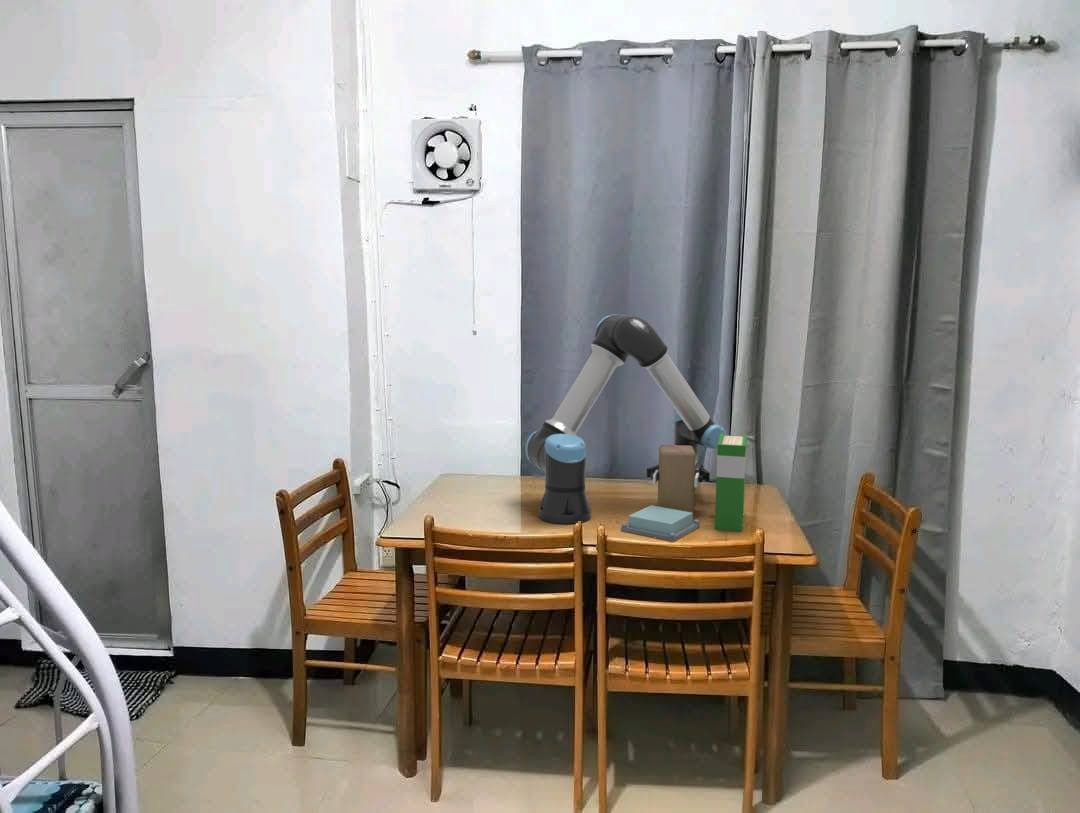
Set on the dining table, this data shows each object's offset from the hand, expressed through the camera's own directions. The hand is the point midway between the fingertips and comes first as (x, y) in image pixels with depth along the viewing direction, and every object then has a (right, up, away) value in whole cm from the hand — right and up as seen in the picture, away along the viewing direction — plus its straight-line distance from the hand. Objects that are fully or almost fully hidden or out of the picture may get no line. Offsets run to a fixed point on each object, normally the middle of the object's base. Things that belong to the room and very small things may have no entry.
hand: (674, 481), depth 229 cm
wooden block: (+1, -11, +6) cm, 12 cm away
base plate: (-5, -12, -8) cm, 16 cm away
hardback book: (+15, -12, -1) cm, 19 cm away
